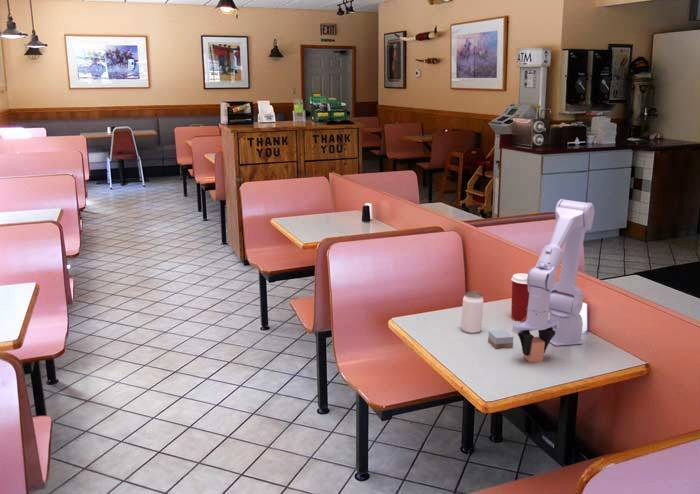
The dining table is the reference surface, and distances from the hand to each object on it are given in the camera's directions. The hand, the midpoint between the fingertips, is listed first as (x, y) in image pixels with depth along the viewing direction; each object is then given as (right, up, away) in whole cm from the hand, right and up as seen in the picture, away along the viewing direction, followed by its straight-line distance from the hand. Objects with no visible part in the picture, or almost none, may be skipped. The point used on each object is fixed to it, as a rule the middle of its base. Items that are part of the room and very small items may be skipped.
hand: (533, 353), depth 184 cm
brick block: (0, -2, 0) cm, 2 cm away
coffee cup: (+5, +6, +32) cm, 33 cm away
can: (-14, +4, +21) cm, 26 cm away
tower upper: (-7, +2, +9) cm, 12 cm away
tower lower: (-7, 0, +10) cm, 12 cm away
